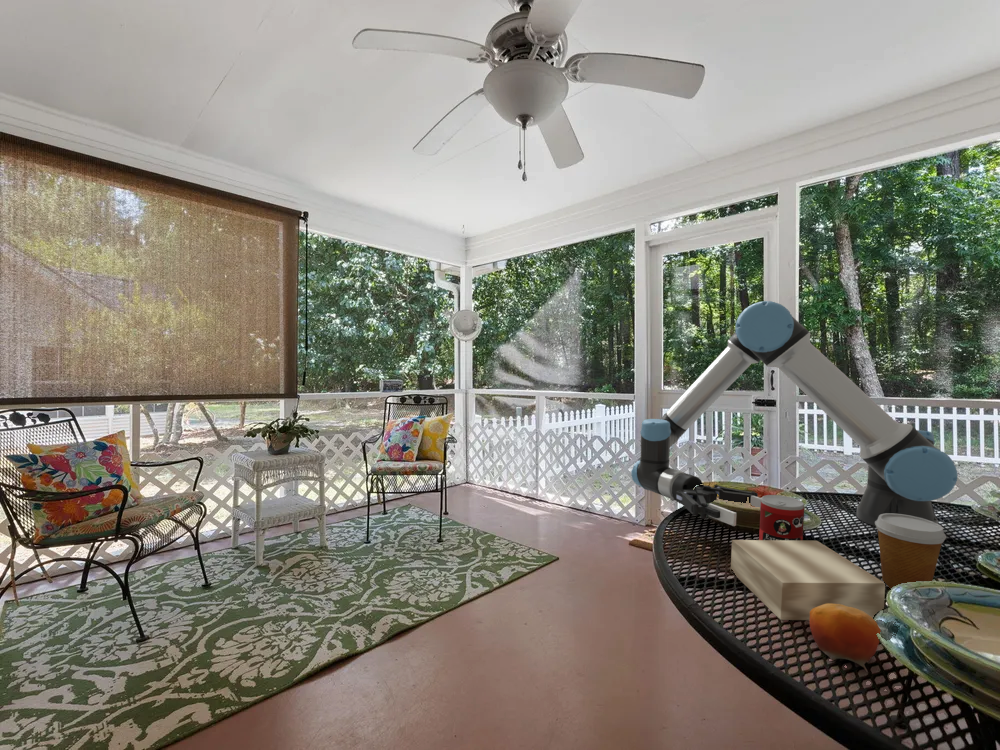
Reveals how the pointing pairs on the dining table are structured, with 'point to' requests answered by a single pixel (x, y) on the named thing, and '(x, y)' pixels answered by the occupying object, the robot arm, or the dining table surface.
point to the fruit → (844, 632)
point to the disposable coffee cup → (908, 548)
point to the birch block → (803, 577)
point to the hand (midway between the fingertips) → (757, 514)
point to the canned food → (781, 518)
